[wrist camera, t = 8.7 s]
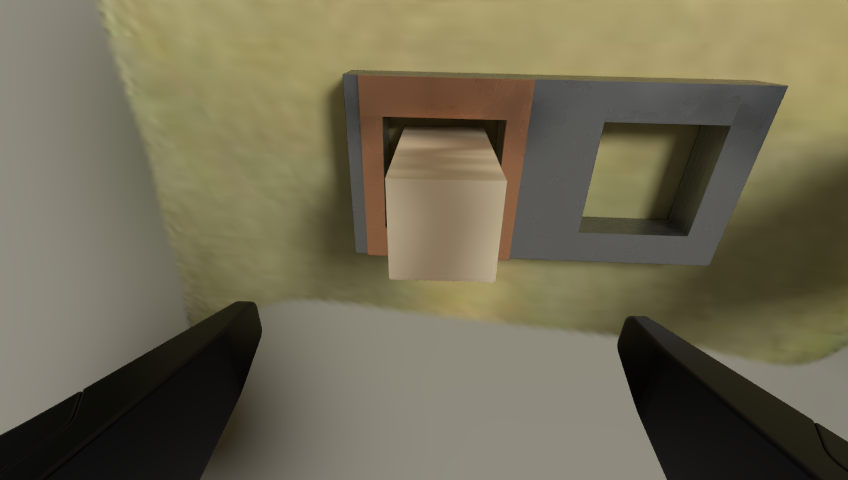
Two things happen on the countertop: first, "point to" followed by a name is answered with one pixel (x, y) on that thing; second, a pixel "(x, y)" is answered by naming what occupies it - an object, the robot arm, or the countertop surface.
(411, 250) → the beech peg
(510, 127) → the grey board
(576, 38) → the countertop surface
